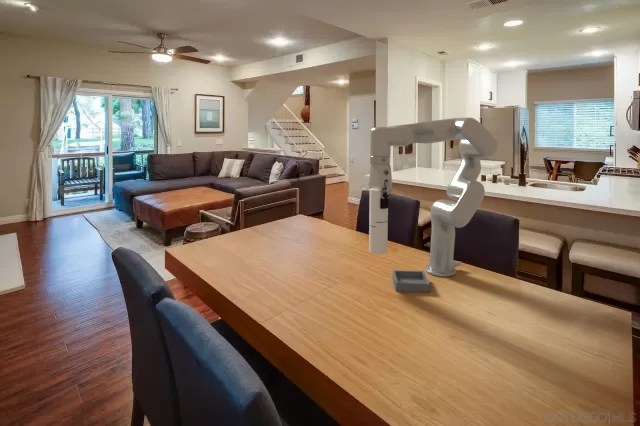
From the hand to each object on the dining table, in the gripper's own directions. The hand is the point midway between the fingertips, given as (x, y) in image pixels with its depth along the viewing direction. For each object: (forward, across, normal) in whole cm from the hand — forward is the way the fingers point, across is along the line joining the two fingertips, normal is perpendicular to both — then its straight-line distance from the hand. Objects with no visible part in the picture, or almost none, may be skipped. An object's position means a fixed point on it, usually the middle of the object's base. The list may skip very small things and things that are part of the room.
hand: (379, 206), depth 141 cm
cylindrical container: (+19, 0, 0) cm, 19 cm away
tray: (+32, -7, -11) cm, 34 cm away
